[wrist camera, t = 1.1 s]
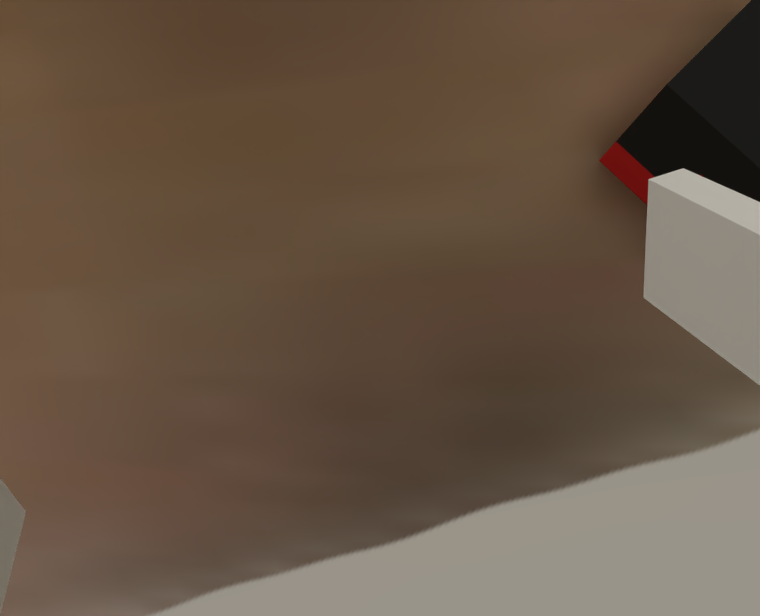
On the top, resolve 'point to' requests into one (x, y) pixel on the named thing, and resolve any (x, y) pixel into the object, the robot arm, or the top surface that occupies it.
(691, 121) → the puzzle toy
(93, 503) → the top surface
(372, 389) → the top surface
